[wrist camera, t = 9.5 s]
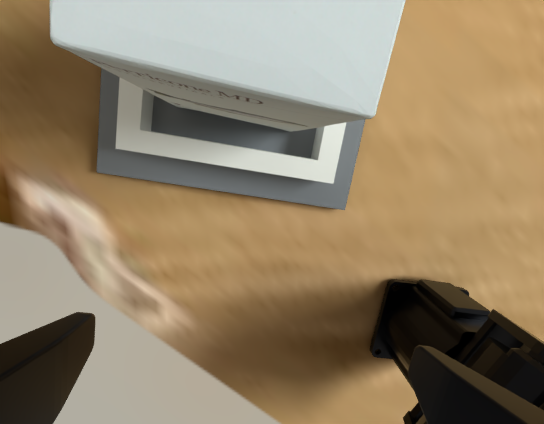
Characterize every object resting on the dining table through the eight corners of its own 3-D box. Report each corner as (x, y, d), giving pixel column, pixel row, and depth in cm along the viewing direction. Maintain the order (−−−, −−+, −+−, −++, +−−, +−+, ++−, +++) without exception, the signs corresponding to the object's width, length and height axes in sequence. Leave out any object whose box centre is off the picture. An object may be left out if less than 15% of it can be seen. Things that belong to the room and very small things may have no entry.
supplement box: (174, 108, 18) (27, 42, 6) (193, -30, 17) (50, -508, 4) (293, 136, 19) (378, 127, 7) (321, 8, 18) (498, -298, 5)
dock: (341, 207, 21) (355, 217, 19) (102, 171, 19) (79, 176, 17) (399, -54, 18) (426, -89, 15) (117, -130, 16) (91, -185, 13)
